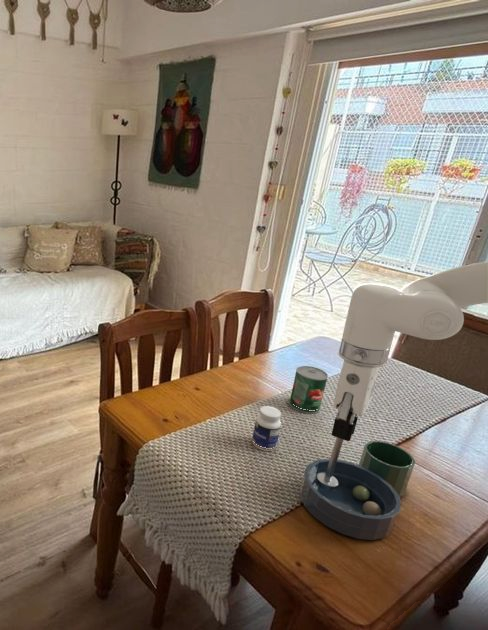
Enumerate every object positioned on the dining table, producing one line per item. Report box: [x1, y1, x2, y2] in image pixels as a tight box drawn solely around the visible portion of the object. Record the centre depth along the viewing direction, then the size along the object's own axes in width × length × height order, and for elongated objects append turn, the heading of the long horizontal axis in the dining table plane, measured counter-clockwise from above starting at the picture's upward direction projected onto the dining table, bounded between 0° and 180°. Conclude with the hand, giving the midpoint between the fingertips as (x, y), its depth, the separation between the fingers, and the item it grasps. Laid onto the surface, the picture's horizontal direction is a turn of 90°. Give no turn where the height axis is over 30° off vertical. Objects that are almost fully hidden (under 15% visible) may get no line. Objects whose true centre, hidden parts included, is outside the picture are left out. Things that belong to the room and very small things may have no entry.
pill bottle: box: [251, 405, 282, 452], centre depth 108 cm, size 6×6×10 cm
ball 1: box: [353, 486, 370, 501], centre depth 92 cm, size 3×3×3 cm
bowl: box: [299, 458, 402, 541], centre depth 90 cm, size 17×17×6 cm
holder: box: [358, 440, 416, 498], centre depth 96 cm, size 9×9×8 cm
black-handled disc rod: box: [316, 413, 351, 491], centre depth 89 cm, size 4×4×18 cm
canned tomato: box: [288, 365, 329, 415], centre depth 125 cm, size 8×8×11 cm
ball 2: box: [363, 501, 381, 516], centre depth 88 cm, size 3×3×3 cm
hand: (342, 434), depth 87 cm, fingers closed on black-handled disc rod, 2 cm apart
